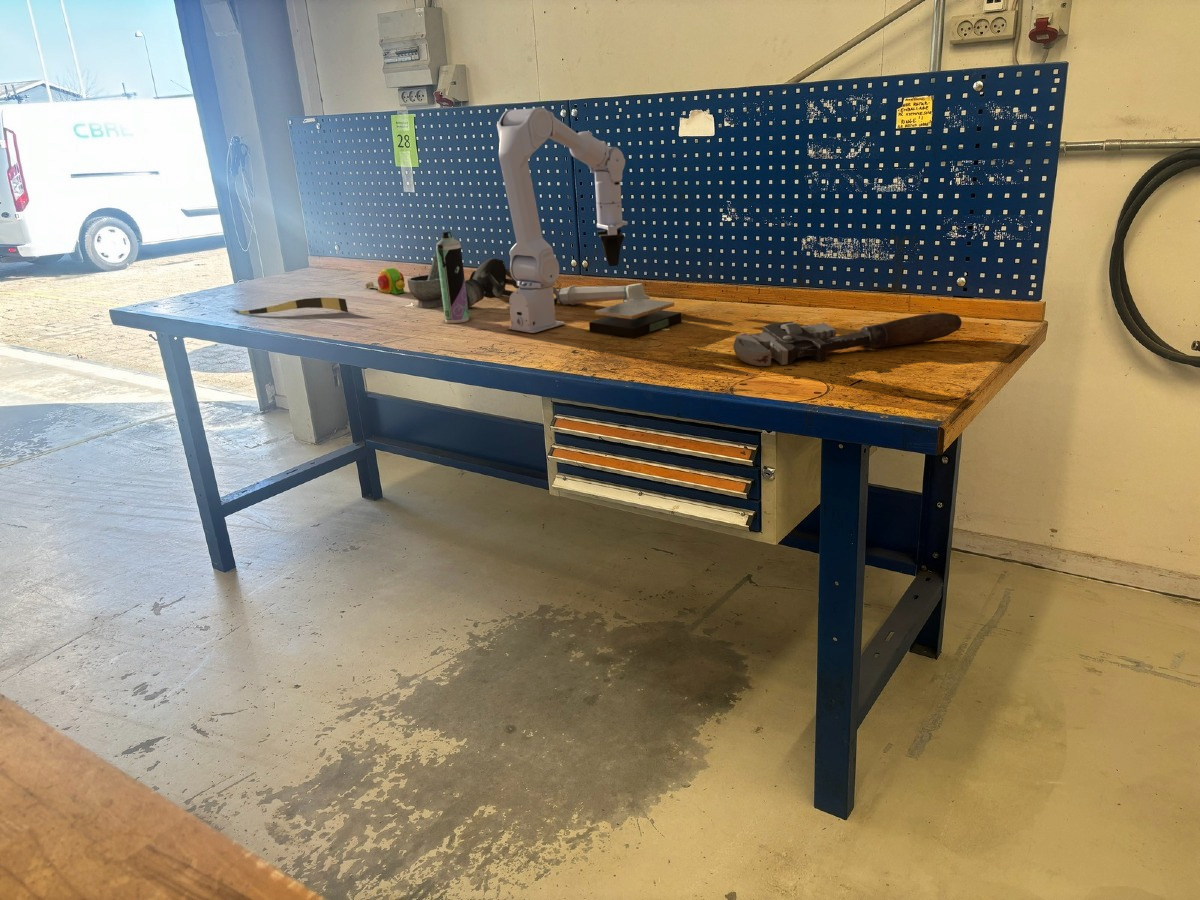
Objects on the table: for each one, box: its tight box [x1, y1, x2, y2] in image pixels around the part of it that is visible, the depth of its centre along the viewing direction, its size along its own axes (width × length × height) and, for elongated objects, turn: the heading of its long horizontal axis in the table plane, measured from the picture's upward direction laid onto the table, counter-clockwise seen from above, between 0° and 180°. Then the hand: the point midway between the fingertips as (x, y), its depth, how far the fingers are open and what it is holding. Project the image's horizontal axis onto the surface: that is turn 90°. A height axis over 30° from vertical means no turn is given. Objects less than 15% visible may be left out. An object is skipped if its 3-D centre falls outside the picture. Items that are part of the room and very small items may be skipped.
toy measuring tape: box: [364, 267, 406, 295], centre depth 237 cm, size 6×20×7 cm, turn 42°
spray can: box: [435, 231, 470, 324], centre depth 192 cm, size 6×6×20 cm
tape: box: [232, 297, 349, 315], centre depth 216 cm, size 6×38×4 cm, turn 69°
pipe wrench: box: [732, 312, 963, 367], centre depth 154 cm, size 43×13×5 cm, turn 106°
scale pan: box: [594, 298, 675, 319], centre depth 178 cm, size 14×10×2 cm
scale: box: [588, 309, 682, 339], centre depth 179 cm, size 16×12×2 cm
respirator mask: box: [465, 257, 559, 309], centre depth 211 cm, size 20×22×15 cm
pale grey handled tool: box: [557, 283, 651, 306], centre depth 198 cm, size 5×7×25 cm
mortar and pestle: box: [407, 253, 443, 309], centre depth 213 cm, size 11×9×12 cm
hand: (612, 263), depth 198 cm, fingers open, 7 cm apart
